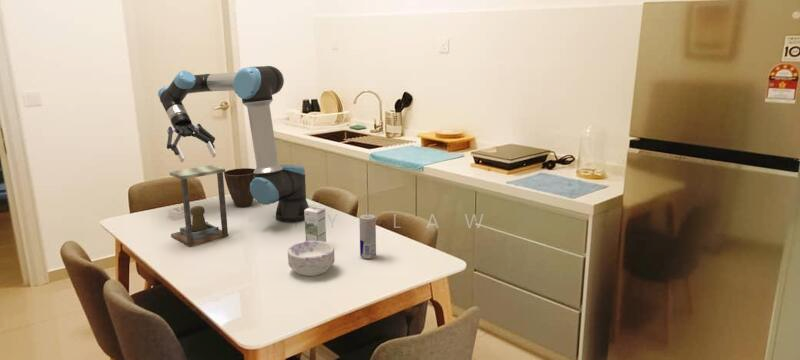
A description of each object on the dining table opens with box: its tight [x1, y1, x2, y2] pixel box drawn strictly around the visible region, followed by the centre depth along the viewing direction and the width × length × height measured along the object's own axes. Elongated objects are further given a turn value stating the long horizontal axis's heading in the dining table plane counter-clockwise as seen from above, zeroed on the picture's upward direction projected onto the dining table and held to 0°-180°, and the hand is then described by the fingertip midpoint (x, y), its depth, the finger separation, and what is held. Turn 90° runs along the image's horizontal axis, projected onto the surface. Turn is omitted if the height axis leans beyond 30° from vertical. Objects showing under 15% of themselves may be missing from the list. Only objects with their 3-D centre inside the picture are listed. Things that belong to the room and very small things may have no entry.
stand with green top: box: [169, 164, 230, 248], centre depth 212 cm, size 17×16×27 cm
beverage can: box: [359, 213, 377, 260], centre depth 193 cm, size 6×6×15 cm
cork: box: [190, 205, 207, 232], centre depth 214 cm, size 6×6×11 cm
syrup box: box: [304, 205, 327, 242], centre depth 204 cm, size 6×6×14 cm
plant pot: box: [223, 167, 256, 208], centre depth 255 cm, size 15×15×16 cm
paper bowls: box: [287, 240, 336, 277], centre depth 183 cm, size 15×15×8 cm
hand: (199, 158), depth 227 cm, fingers open, 13 cm apart
